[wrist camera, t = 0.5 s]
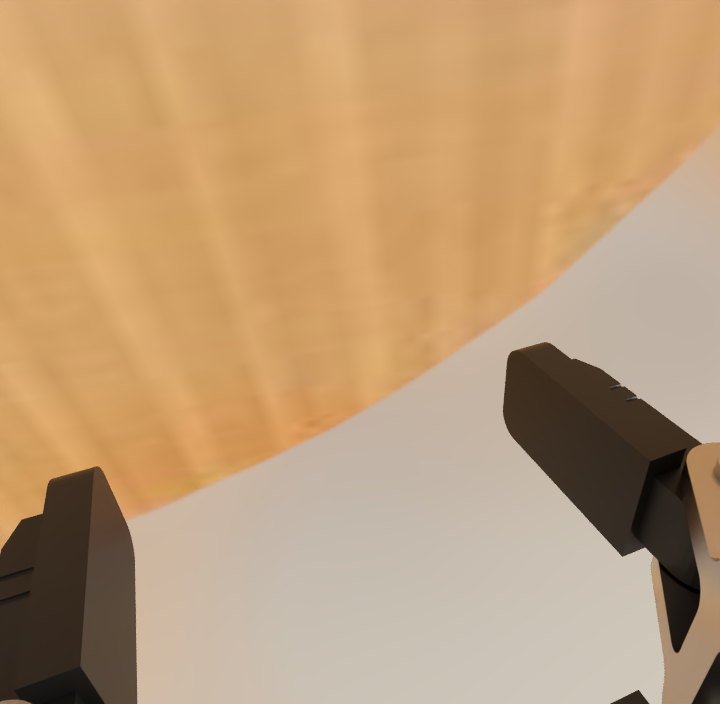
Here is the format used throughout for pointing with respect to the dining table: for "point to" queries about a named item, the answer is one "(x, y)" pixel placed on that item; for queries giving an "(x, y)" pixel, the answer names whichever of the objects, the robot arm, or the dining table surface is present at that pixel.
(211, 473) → the dining table surface
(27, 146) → the dining table surface
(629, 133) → the dining table surface
